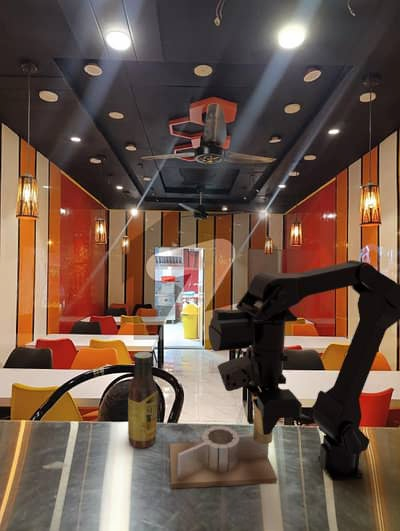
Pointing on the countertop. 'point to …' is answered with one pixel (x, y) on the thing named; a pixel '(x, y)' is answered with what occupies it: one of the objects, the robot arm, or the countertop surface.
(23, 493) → the countertop surface
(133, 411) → the sauce bottle
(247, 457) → the hinge
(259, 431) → the hinge pin
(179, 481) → the walnut board
